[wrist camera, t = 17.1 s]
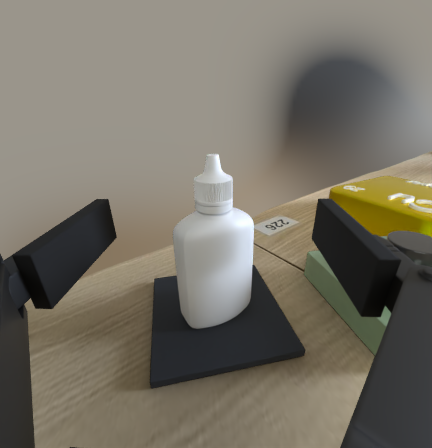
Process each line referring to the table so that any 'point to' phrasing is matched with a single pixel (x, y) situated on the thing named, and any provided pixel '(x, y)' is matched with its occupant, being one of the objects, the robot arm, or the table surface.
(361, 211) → the element tile
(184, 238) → the eye dropper bottle
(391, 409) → the robot arm
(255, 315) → the slate mat
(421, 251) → the black round knob
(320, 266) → the button housing
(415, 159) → the table surface
